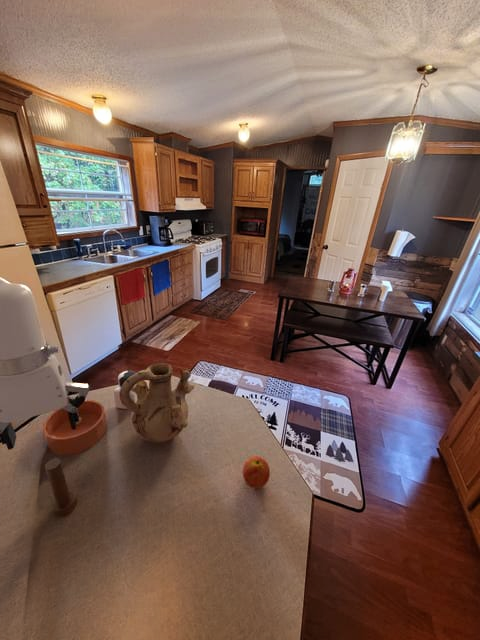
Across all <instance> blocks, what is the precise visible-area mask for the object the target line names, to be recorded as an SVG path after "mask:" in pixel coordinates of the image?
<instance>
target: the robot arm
mask: <svg viewBox="0 0 480 640" xmlns="http://www.w3.org/2000/svg"><path fill="white" fill-rule="evenodd" d="M41 323H42V322H41V320H40V317H39V312H38V309H37V304H36V300H35V297H34V293H33V292H32V290H31V289H30V288H29V287H28V286H27V285H24V284H20V283H12V282H11V283H10V282H9V281H7V280H5V279H4V278H3V277H0V442H1V444H2V445H6V447H7V450H9V451H10V450H12V449H14V448H15V446H16V441H17V434H16V431H15V429H14V427H13V424H12V423H14V422H19V421H21V420H22V421H23V420H26V419H29V418H34V417H37V416H41V415H43V414H47V413H51V412H54V411H56V410H58V409H61V408H62V409H64V410H67V411H68V417H69V421H70V425H71V428H72V429H73V430H74V429H76V422H79V414H78V408H79V407H80V406H81V404H82V403H83V402H84V401H85V400H86V398H87V396H88V394H89V392H90V385H89V384H88V383H80V382H70V381H67V380H66V378H65V374H64V372H63V369H62V366H61V364H60V362H59V361H58V359H57V357H56V355H55V354H58V353H59V348H58V345H49V343H48V342H47V341H46V339H45V334H44V331H43V328H42V324H41ZM70 392H71V393H78V394H77V395H76V396H75V397H73V396H70V395H69V393H70Z"/></svg>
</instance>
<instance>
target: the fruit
mask: <svg viewBox="0 0 480 640" xmlns="http://www.w3.org/2000/svg"><path fill="white" fill-rule="evenodd" d="M242 476H243V478H244V482H245V483H246V484H247V485H248V486H249V487H250V488H252V489H260V488H263V487H264V486H266V485H267V483H268V482H269V479H270V476H271V471H270V465H269V464H268V462H267V461H266V459H264V458H263V457H261V456H257V455H256V456H255V455H254V456H251V457H249V458H248V459H247V460H246V461H245V462H244V464H243V467H242Z"/></svg>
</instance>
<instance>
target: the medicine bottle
mask: <svg viewBox="0 0 480 640" xmlns="http://www.w3.org/2000/svg"><path fill="white" fill-rule="evenodd" d="M136 373H137V372H136V371H135V370H125V371H122V372H121V373H119V375H118V376H117V382H118V385H117V387H116V388H115V389H114V390H113V397H114V401H115V402H114V403H115V407H116V408H117V409H124V410H128V409H127V408H126V407H125V406H124V405H123V404H122V402H121V400H120V396H119V393H120V389H121V387H122V385H123V383H124V382H125V381H126V380H127V379H128V378H129V377H131V376H132V375H134V374H136ZM135 385H136V384H135ZM130 397H131V398H132V400H133V401H134V402H137V394H136V393H135V392H133V391H130Z"/></svg>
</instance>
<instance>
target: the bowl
mask: <svg viewBox="0 0 480 640" xmlns="http://www.w3.org/2000/svg"><path fill="white" fill-rule="evenodd" d="M78 414H79V417H81V418H82V422H81V423H80V424H78V425H76V429H74V430H73V429H72V428H71V425H70V421H69V417H68V411H67V410H64V409H62V408H61V409H58V410H55V411H52V413H51V414H49V416H47V418H46V419H45V421H44V422H43V425H42V434H43V437H44V439H45V442H46V445H47V448H48V449H49V451H50V452H51V453H53V454H55V455H60V456H70V455H75V454H79V453H81V452H83V451H86V450H88V449H90V448H91V447H93V446H94V445H96V444H97V443H98V442H100V440H101V439H102V438H103V437H104V435H105V434H106V431H107V428H108V423H107V417H106V412H105V406H104V405H103V404H102V403H101V402H99V401H96V400H93V399H92V400H91V399H85V401H84V402H83V403H82V404H81V406H80V407H79V408H78Z"/></svg>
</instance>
